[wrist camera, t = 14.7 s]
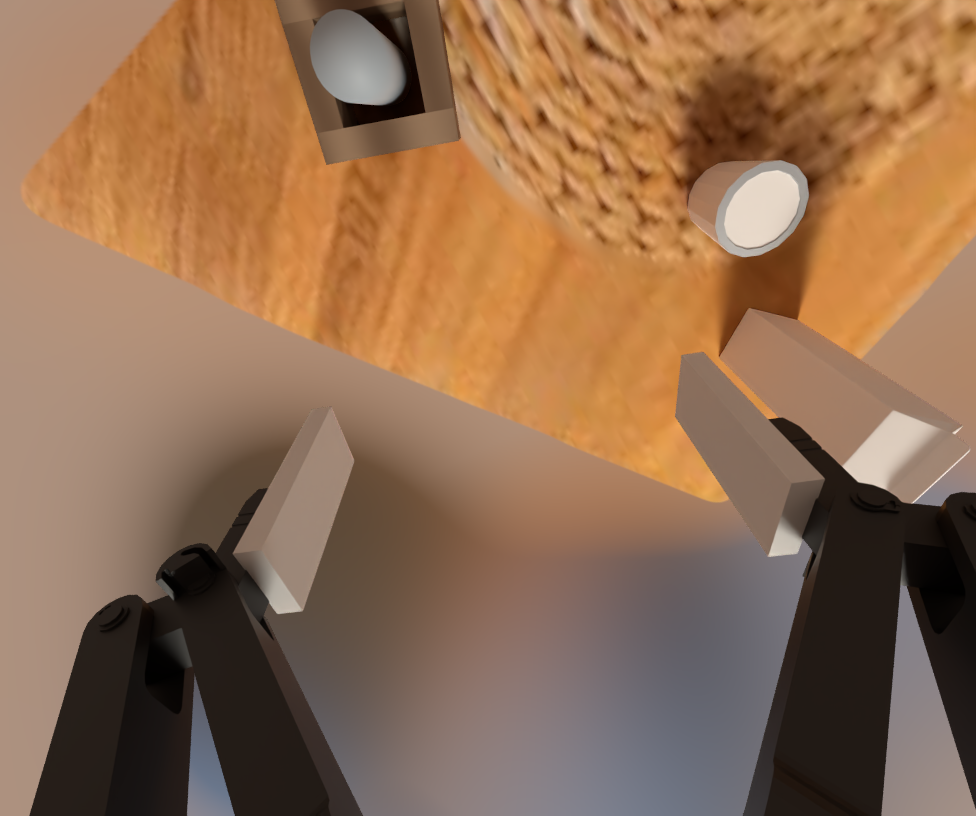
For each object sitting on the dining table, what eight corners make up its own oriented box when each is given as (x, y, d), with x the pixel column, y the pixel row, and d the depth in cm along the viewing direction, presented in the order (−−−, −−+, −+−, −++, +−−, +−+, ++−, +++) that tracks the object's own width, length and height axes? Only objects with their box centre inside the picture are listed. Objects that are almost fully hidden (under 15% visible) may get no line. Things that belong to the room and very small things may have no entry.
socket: (433, -29, 31) (427, -51, 27) (460, 137, 36) (458, 140, 32) (296, -1, 31) (269, -18, 27) (343, 158, 37) (326, 164, 33)
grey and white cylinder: (677, 169, 38) (714, 180, 32) (760, 140, 37) (813, 145, 31) (683, 247, 42) (717, 269, 36) (758, 222, 41) (806, 241, 35)
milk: (797, 319, 46) (1014, 454, 28) (764, 368, 49) (939, 519, 31) (746, 306, 45) (936, 437, 27) (716, 358, 48) (867, 506, 30)
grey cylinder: (404, 36, 33) (373, 2, 23) (416, 101, 35) (394, 96, 25) (351, 46, 33) (298, 17, 23) (367, 110, 35) (325, 109, 25)
